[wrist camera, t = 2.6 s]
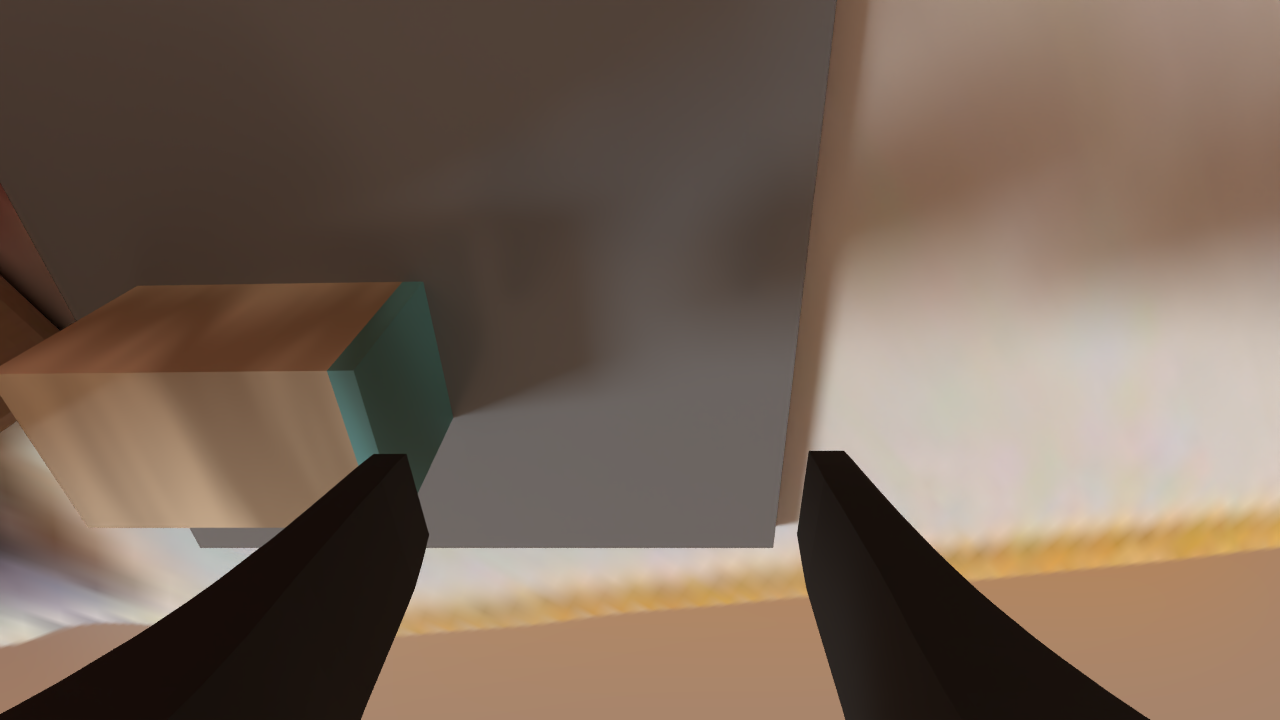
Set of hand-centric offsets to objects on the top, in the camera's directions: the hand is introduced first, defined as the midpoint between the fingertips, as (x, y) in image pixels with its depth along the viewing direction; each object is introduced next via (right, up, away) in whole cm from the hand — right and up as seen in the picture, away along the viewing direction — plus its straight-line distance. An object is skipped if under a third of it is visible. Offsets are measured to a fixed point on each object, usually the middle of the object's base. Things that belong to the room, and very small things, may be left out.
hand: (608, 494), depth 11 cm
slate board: (-5, +4, +5) cm, 8 cm away
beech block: (-5, +2, +3) cm, 6 cm away
